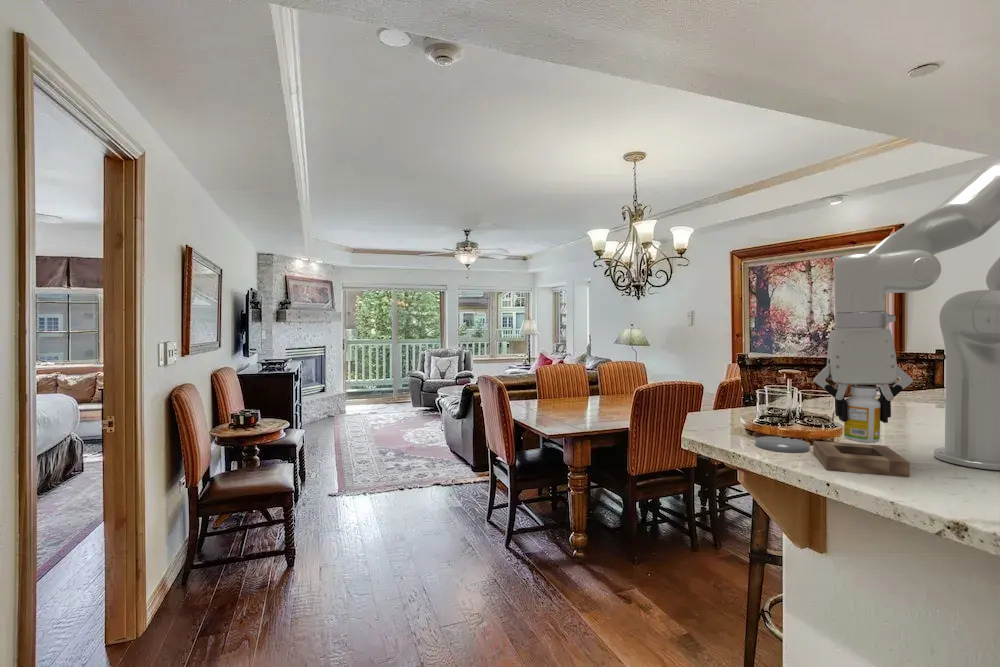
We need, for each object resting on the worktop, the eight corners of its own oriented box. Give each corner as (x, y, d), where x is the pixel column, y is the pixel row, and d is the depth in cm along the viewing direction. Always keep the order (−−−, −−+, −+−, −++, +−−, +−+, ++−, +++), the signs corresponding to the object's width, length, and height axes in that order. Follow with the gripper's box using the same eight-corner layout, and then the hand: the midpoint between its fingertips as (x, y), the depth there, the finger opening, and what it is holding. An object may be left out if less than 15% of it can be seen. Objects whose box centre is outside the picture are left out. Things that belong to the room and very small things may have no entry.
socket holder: (885, 458, 98) (886, 445, 98) (909, 476, 87) (909, 462, 87) (813, 453, 102) (813, 440, 102) (826, 470, 91) (826, 455, 91)
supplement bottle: (867, 436, 97) (869, 385, 97) (886, 443, 92) (888, 389, 91) (837, 435, 98) (839, 384, 97) (854, 443, 92) (856, 389, 92)
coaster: (804, 443, 111) (804, 438, 111) (814, 454, 101) (814, 449, 101) (753, 439, 114) (753, 435, 114) (757, 450, 105) (757, 445, 105)
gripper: (909, 319, 94) (912, 418, 95) (802, 323, 101) (805, 415, 101) (926, 320, 87) (928, 426, 88) (809, 324, 94) (812, 423, 94)
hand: (862, 419), depth 94 cm, fingers closed on supplement bottle, 5 cm apart
